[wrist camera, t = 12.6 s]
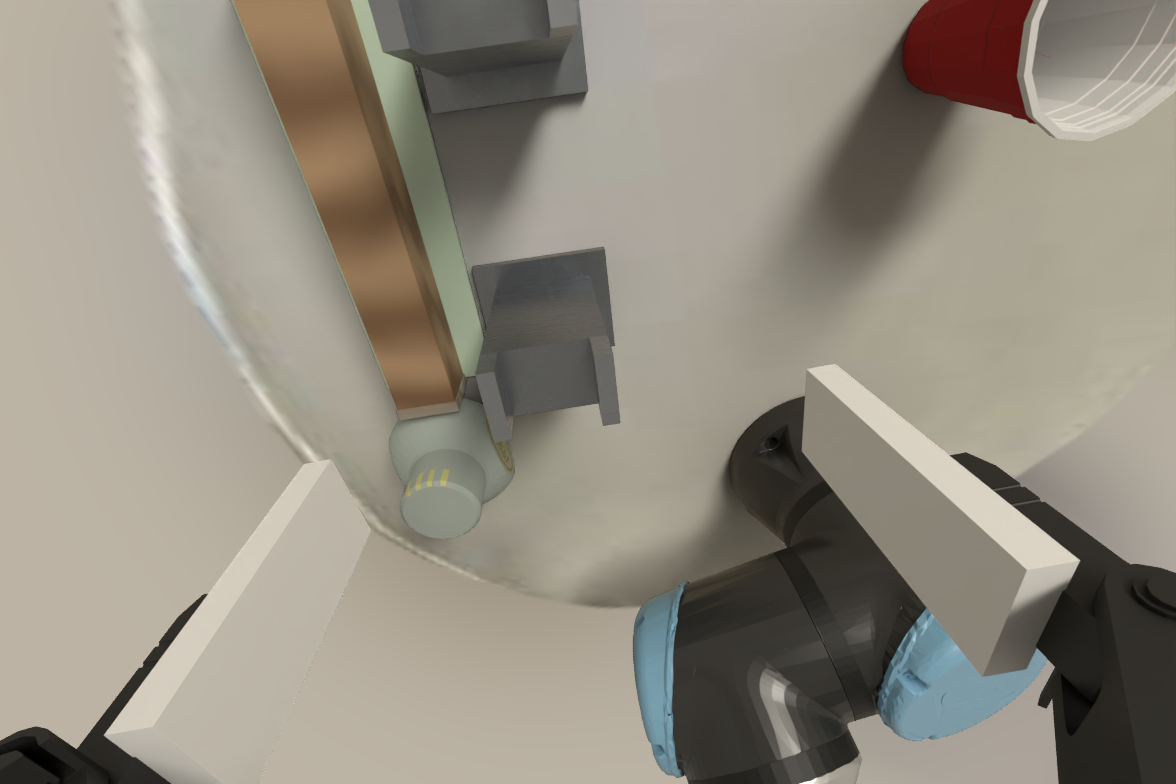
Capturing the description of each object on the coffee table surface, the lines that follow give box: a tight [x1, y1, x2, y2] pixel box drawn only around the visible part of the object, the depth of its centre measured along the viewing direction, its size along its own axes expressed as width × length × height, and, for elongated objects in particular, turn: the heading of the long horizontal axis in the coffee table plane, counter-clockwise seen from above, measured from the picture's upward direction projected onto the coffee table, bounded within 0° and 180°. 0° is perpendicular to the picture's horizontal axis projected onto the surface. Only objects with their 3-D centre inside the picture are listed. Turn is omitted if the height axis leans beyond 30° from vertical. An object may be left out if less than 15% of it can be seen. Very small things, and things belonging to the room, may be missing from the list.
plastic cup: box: [903, 0, 1176, 141], centre depth 26 cm, size 11×11×12 cm
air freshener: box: [389, 398, 515, 539], centre depth 39 cm, size 11×8×10 cm
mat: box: [231, 0, 484, 389], centre depth 33 cm, size 28×9×1 cm, turn 7°
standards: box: [368, 0, 620, 443], centre depth 27 cm, size 26×10×14 cm, turn 7°
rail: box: [233, 0, 467, 420], centre depth 31 cm, size 29×5×5 cm, turn 7°
